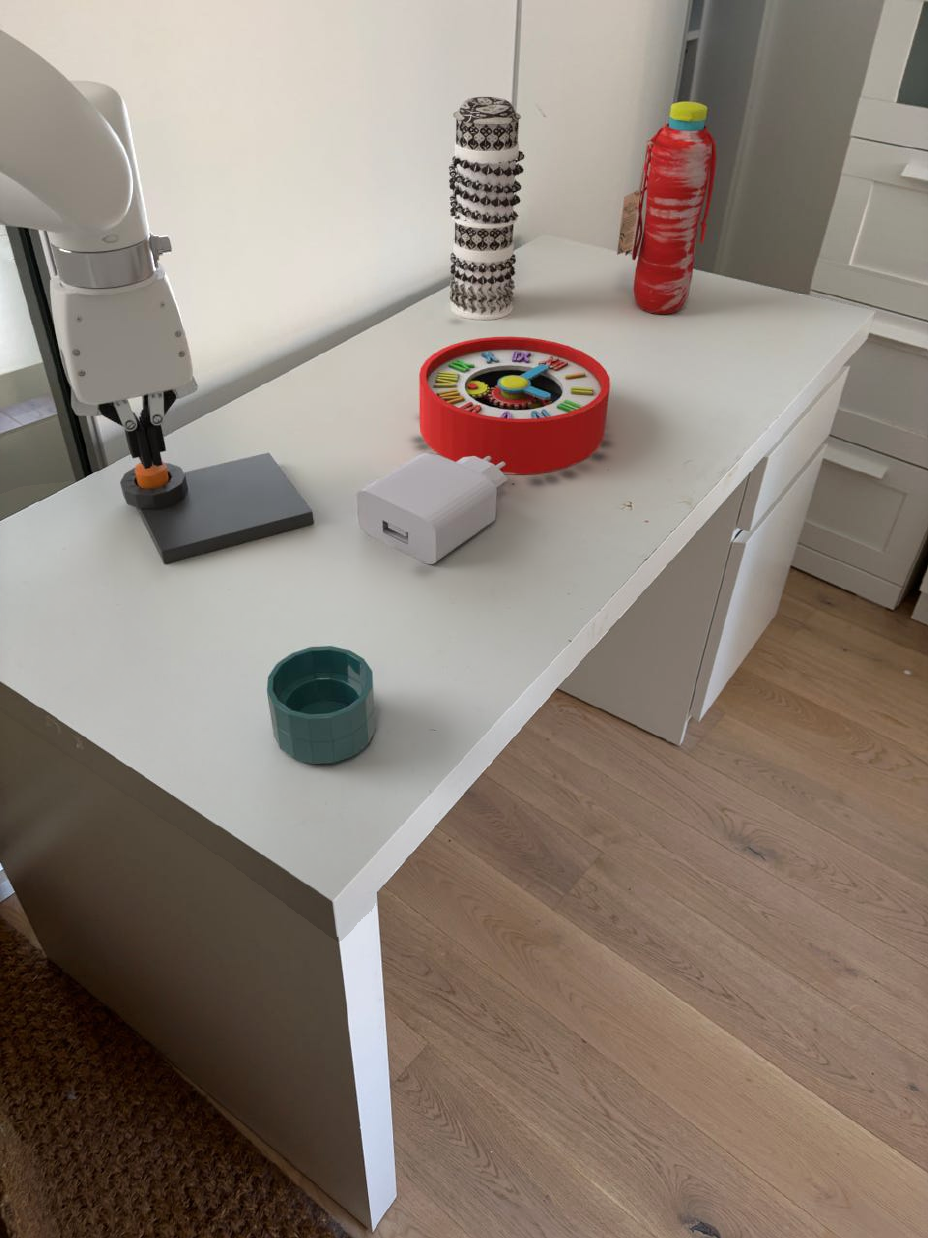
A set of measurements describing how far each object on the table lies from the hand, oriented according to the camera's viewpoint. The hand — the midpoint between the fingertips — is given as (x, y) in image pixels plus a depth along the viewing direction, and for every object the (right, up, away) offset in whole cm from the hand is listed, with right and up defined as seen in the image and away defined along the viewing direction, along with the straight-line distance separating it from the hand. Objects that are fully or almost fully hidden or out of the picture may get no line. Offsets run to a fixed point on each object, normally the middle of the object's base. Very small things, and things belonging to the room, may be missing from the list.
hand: (149, 460), depth 89 cm
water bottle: (+54, +28, +43) cm, 75 cm away
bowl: (+19, -23, -19) cm, 35 cm away
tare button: (0, -2, +1) cm, 2 cm away
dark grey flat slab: (+6, -4, +3) cm, 8 cm away
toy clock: (+34, +6, +16) cm, 38 cm away
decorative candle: (+31, +27, +41) cm, 59 cm away
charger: (+27, -5, +3) cm, 28 cm away
